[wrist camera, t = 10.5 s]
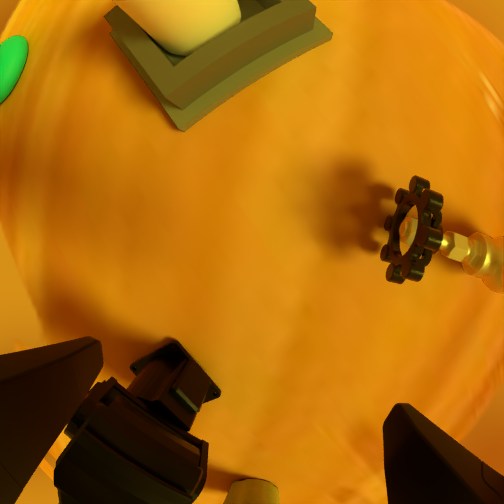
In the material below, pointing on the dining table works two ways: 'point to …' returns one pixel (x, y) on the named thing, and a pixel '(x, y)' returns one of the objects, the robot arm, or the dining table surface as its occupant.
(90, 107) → the dining table surface
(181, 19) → the can
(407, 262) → the valve
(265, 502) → the plant pot
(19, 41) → the donuts
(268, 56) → the socket holder
